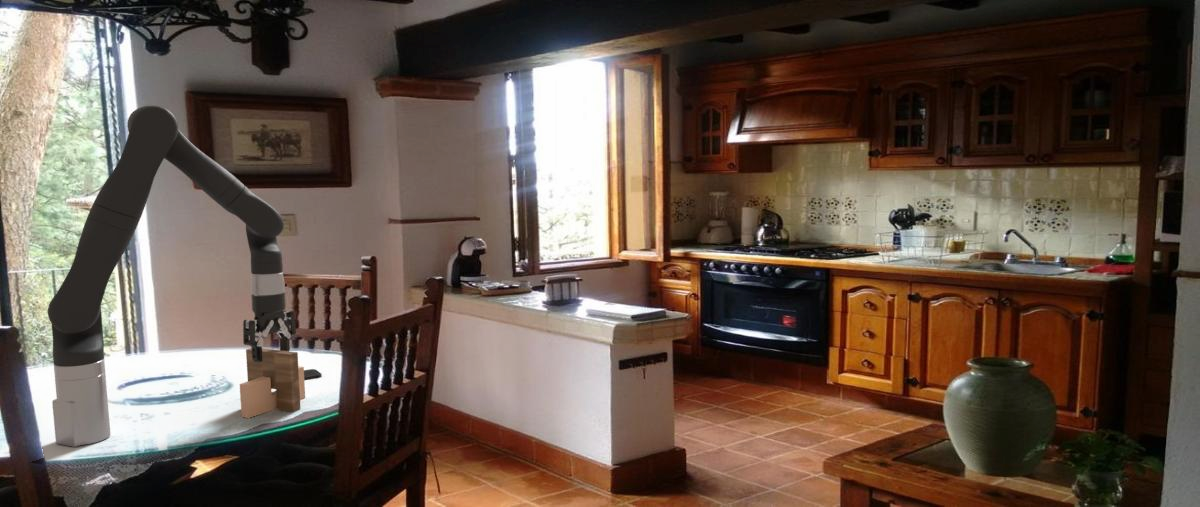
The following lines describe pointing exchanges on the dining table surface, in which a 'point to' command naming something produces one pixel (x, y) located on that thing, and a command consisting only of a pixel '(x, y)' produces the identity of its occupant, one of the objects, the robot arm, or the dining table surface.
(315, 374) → the phone
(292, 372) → the upright wooden board
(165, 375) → the dining table surface
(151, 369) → the dining table surface
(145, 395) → the dining table surface
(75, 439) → the robot arm
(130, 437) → the dining table surface
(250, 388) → the horizontal wooden crosspiece
